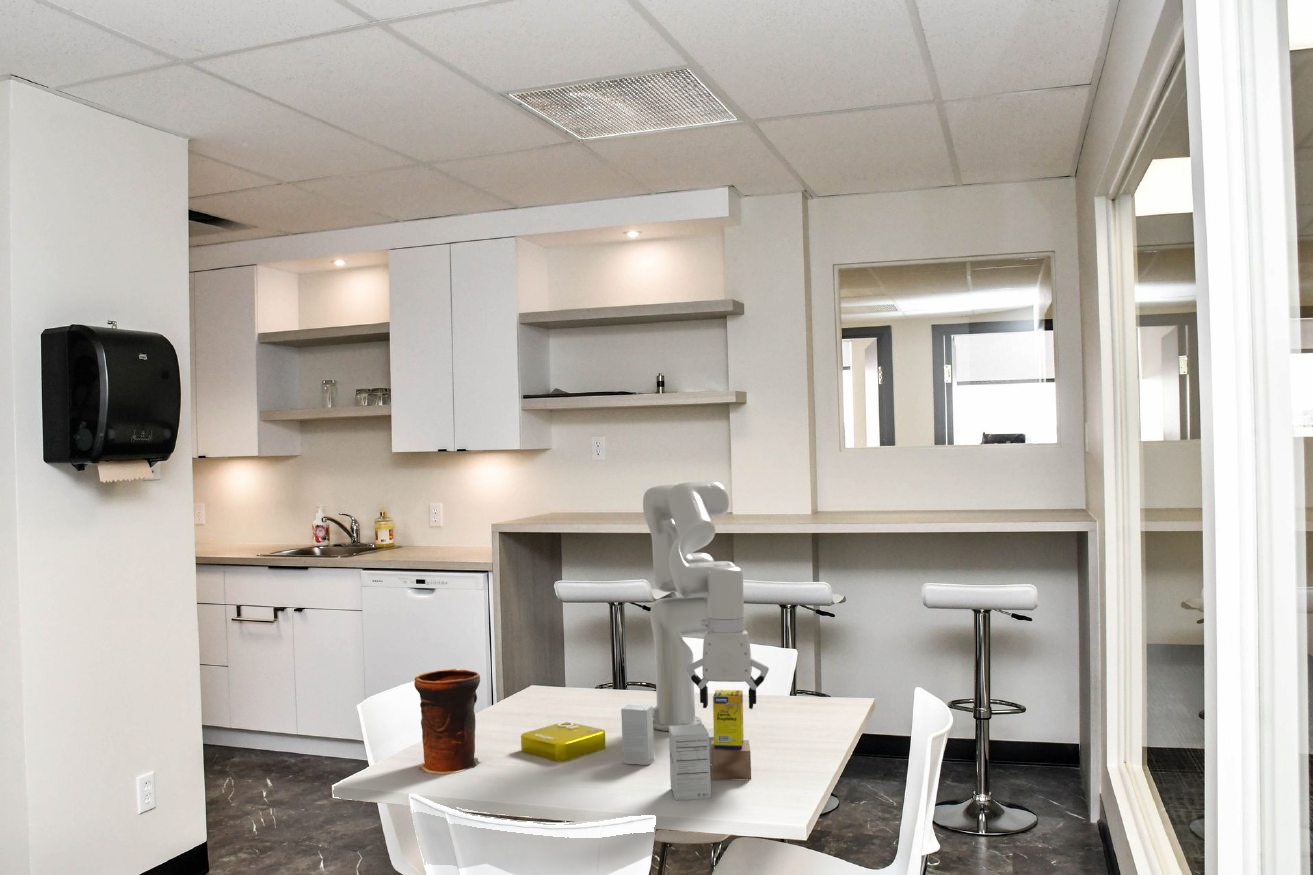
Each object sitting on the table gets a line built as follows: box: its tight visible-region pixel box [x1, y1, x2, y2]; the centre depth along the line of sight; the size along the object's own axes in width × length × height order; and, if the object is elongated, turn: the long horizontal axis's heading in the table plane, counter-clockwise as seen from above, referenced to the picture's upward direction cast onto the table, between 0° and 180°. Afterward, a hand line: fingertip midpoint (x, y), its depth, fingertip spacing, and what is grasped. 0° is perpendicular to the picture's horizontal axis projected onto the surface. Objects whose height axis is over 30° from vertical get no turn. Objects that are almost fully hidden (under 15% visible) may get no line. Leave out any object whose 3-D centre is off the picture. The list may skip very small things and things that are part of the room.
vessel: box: [413, 668, 481, 775], centre depth 222 cm, size 14×14×20 cm
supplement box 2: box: [712, 689, 745, 749], centre depth 209 cm, size 6×6×11 cm
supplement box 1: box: [668, 723, 712, 801], centre depth 197 cm, size 7×7×13 cm
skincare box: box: [620, 704, 655, 766], centre depth 219 cm, size 6×4×12 cm
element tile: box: [520, 721, 607, 763], centre depth 231 cm, size 15×15×5 cm
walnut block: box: [711, 739, 752, 781], centre depth 209 cm, size 8×8×6 cm
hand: (728, 706), depth 210 cm, fingers open, 9 cm apart
